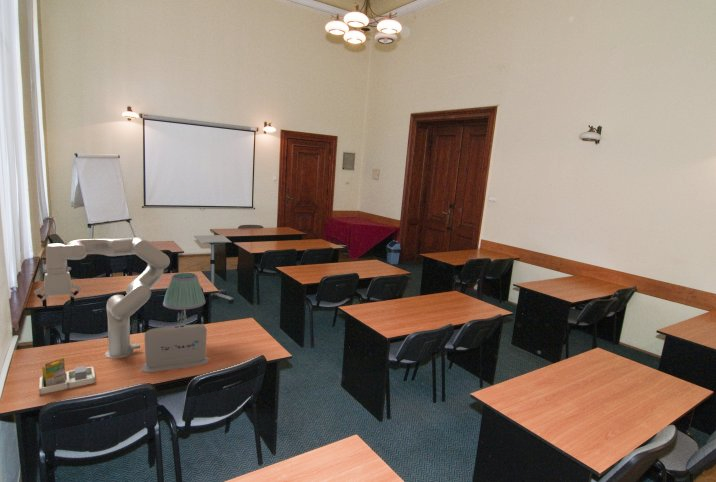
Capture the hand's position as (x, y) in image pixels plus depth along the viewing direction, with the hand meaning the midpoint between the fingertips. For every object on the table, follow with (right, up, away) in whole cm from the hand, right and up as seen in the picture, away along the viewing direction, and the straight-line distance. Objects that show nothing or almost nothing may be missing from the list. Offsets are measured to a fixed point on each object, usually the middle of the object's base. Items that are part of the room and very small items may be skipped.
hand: (58, 306), depth 183 cm
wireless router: (+47, -32, +16) cm, 59 cm away
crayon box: (+7, -33, -11) cm, 35 cm away
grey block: (+14, -32, -6) cm, 36 cm away
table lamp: (+42, -28, +38) cm, 63 cm away
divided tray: (+11, -33, -8) cm, 36 cm away
